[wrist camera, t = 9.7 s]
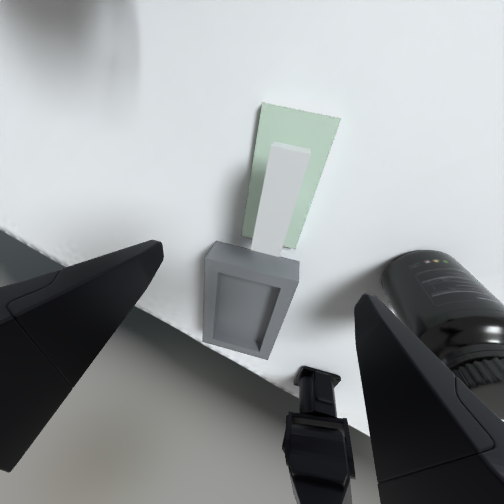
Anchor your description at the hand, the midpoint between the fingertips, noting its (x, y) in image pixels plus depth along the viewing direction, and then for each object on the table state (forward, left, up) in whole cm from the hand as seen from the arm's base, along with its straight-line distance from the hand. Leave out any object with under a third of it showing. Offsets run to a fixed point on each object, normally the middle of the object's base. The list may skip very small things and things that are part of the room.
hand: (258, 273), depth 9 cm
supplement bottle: (-6, -16, -13) cm, 22 cm away
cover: (0, 0, -13) cm, 13 cm away
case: (-16, +1, -13) cm, 21 cm away
